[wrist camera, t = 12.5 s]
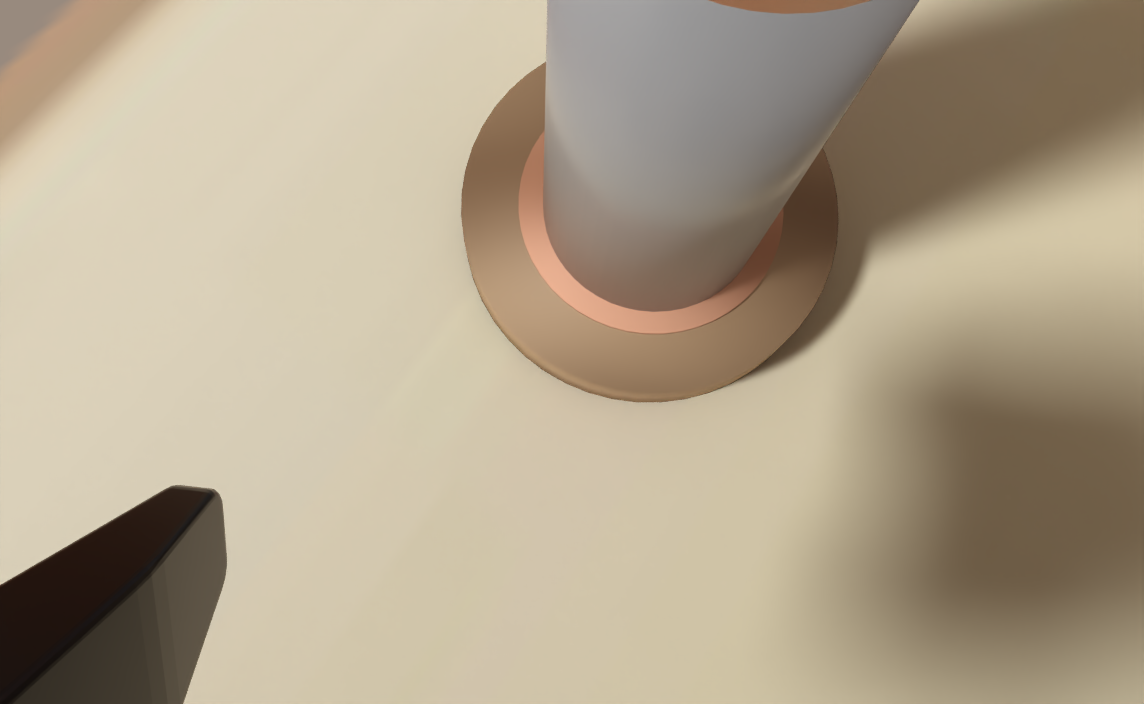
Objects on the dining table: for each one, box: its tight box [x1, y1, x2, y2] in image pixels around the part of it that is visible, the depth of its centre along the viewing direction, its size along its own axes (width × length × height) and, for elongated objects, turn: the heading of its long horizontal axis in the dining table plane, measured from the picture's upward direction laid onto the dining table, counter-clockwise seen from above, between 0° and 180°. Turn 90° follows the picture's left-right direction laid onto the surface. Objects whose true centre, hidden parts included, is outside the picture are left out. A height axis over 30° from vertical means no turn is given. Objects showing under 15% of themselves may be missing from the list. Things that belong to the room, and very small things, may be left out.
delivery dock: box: [461, 62, 838, 402], centre depth 22 cm, size 8×8×1 cm
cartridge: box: [543, 0, 919, 312], centre depth 15 cm, size 5×5×13 cm
